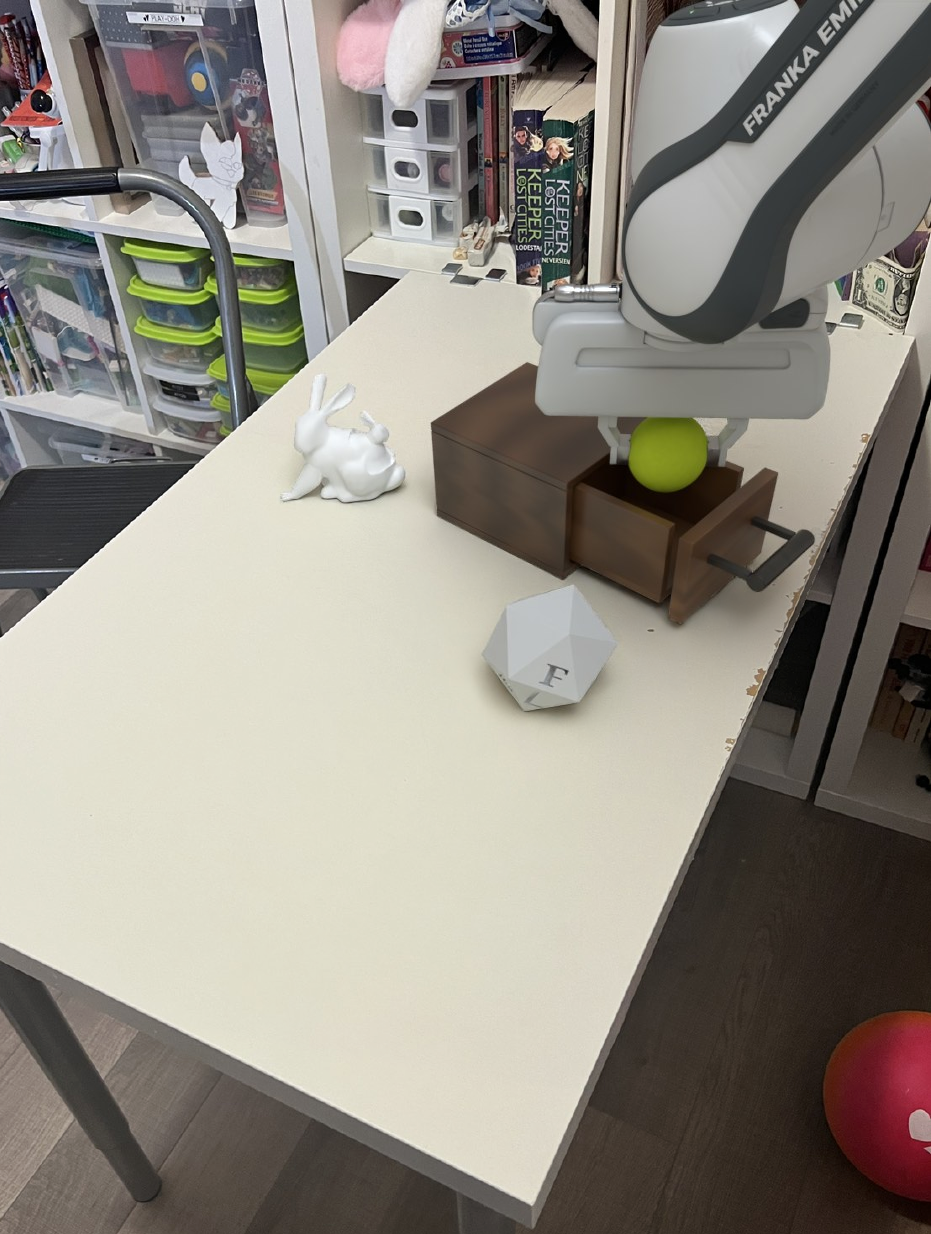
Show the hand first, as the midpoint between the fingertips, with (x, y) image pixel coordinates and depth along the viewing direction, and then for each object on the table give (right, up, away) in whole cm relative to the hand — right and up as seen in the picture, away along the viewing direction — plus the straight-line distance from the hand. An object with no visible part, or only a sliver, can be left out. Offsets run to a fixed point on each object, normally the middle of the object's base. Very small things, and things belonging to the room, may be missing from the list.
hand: (666, 461), depth 79 cm
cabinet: (-7, -1, +14) cm, 16 cm away
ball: (0, +1, -1) cm, 1 cm away
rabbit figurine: (-25, +3, +20) cm, 32 cm away
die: (-9, -17, -1) cm, 20 cm away
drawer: (+2, -7, +6) cm, 9 cm away
